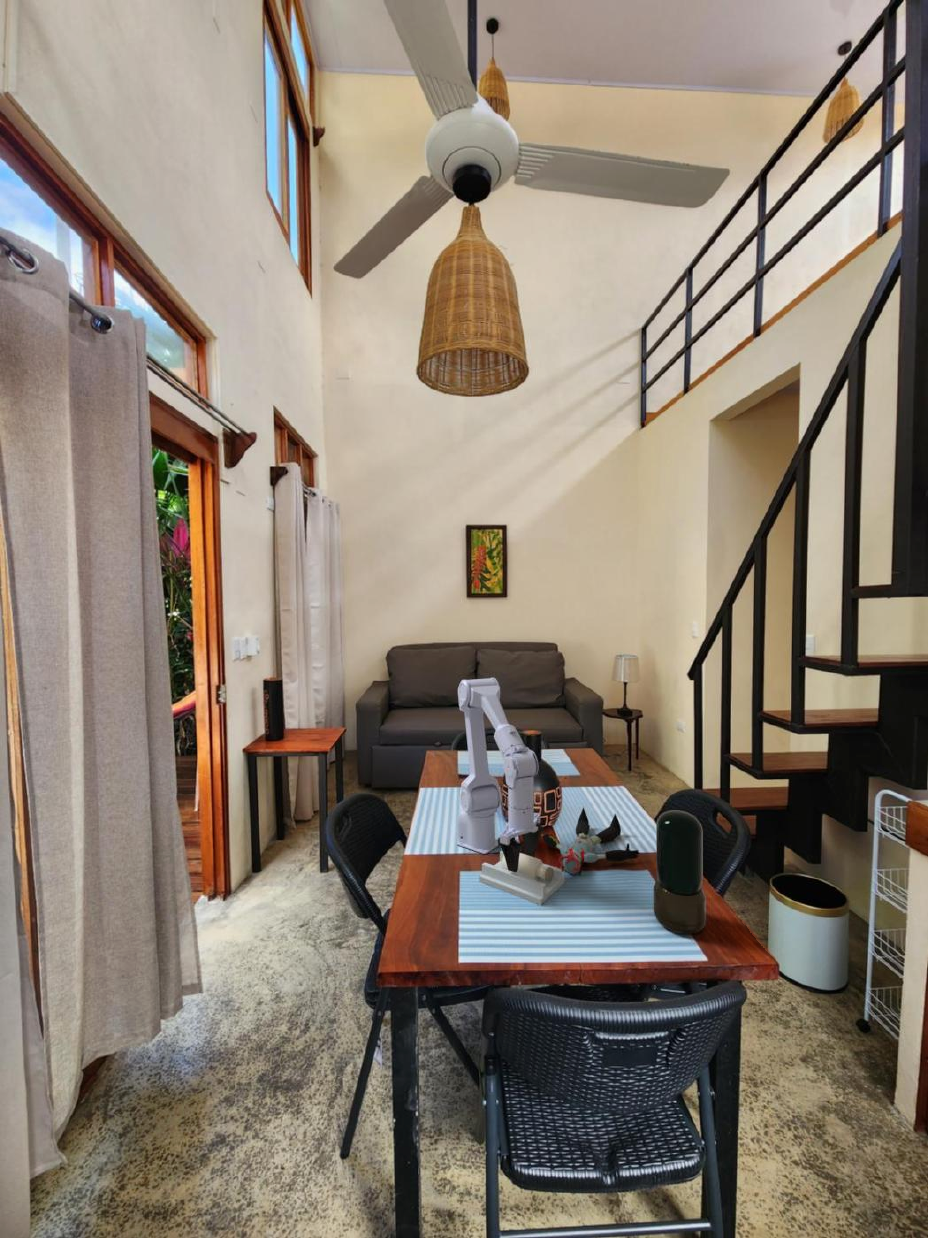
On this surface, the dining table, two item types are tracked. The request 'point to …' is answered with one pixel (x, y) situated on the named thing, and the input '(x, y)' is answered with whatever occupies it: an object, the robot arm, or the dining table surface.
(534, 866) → the bottle
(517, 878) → the cradle
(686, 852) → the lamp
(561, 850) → the toy
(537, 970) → the dining table surface
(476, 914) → the dining table surface
